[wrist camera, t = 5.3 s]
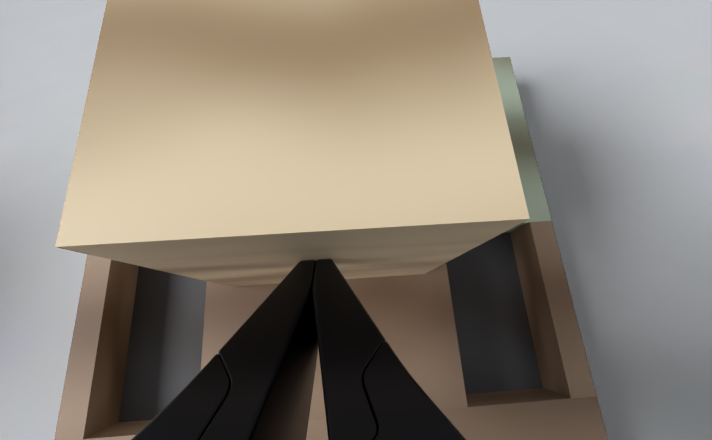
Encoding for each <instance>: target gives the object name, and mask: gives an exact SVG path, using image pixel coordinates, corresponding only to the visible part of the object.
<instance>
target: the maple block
mask: <svg viewBox="0 0 712 440" xmlns="http://www.w3.org/2000/svg"><path fill="white" fill-rule="evenodd" d="M528 219H530V218H529V213H528V209H527V205H526V201H525V196H524V192H523V188H522V184H521V179H520V175H519V171H518V167H517V162H516V158H515V154H514V150H513V145H512V141H511V137H510V133H509V128H508V124H507V120H506V116H505V111H504V107H503V103H502V99H501V94H500V90H499V86H498V82H497V77H496V73H495V69H494V65H493V60H492V56H491V52H490V48H489V43H488V39H487V35H486V31H485V26H484V22H483V18H482V14H481V9H480V5H479V1H478V0H107V4H106V9H105V13H104V18H103V23H102V27H101V32H100V37H99V42H98V46H97V51H96V56H95V61H94V65H93V70H92V75H91V80H90V84H89V89H88V94H87V99H86V103H85V108H84V113H83V118H82V122H81V127H80V132H79V136H78V141H77V146H76V151H75V155H74V160H73V165H72V170H71V174H70V179H69V184H68V189H67V193H66V198H65V203H64V208H63V212H62V217H61V222H60V227H59V231H58V236H57V241H56V245H55V247H58V248H62V249H67V250H71V251H75V252H80V253H84V254H89V255H93V256H97V257H102V258H106V259H111V260H115V261H120V262H124V263H128V264H133V265H137V266H142V267H146V268H151V269H155V270H159V271H164V272H168V273H173V274H177V275H182V276H186V277H190V278H195V279H199V280H204V281H208V282H212V283H217V284H221V285H226V286H230V287H234V286H250V285H265V284H280V282H281V281H282V280H283V279H284V278H285V277H286V276H287V275H288V274H289V272H290V271H291V270H292V269H293V268H294V267H295V266H296V265H297V264H298V262H300V261H302V260H315V261H317V260H319V259H332V260H333V261H334V263H335V264H336V266H337V267H338V269H339V270H340V272H341V273H342V275H343V276H344V278H345V279H357V278H372V277H387V276H403V275H418V274H425V273H427V272H429V271H431V270H433V269H435V268H437V267H439V266H441V265H443V264H444V263H446V262H448V261H450V260H452V259H454V258H456V257H458V256H460V255H462V254H464V253H465V252H467V251H469V250H471V249H473V248H475V247H477V246H479V245H481V244H483V243H485V242H486V241H488V240H490V239H492V238H494V237H496V236H498V235H500V234H502V233H504V232H506V231H507V230H509V229H511V228H513V227H515V226H517V225H519V224H521V223H523V222H525V221H527V220H528Z"/></svg>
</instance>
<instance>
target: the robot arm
mask: <svg viewBox="0 0 712 440" xmlns="http://www.w3.org/2000/svg"><path fill="white" fill-rule="evenodd" d="M318 350H319V359H320V368H321V377H322V386H323V395H324V405H325V414H326V423H327V432H328V440H466V439H465V438H464V437H463V435H462V434H461V433H460V432H459V431H458V430H457V429H456V427H455V426H454V425H453V424H452V423H451V422H450V421H449V419H448V418H447V417H446V416H445V415H444V414H443V413H442V411H441V410H440V409H439V408H438V407H437V406H436V405H435V403H434V402H433V401H432V400H431V399H430V398H429V396H428V395H427V394H426V393H425V392H424V391H423V389H422V388H421V387H420V386H419V384H418V383H417V382H416V381H415V380H414V378H413V377H412V376H411V375H410V374H409V372H408V371H407V369H406V368H405V367H404V365H403V364H402V362H401V361H400V360H399V358H398V357H397V356H396V354H395V353H394V351H393V350H392V348H391V347H390V345H389V344H388V342H386V340H385V338H384V336H383V335H382V333H381V332H380V330H379V329H378V327H377V326H376V324H375V323H374V321H373V320H372V318H371V317H370V315H369V314H368V312H367V311H366V309H365V308H364V306H363V305H362V303H361V302H360V300H359V299H358V297H357V296H356V294H355V293H354V291H353V290H352V288H351V287H350V285H349V284H348V282H347V281H346V279H345V278H344V276H343V275H342V273H341V272H340V270H339V269H338V267H337V266H336V264H335V263H334V261H333V260H332V259H319V260H317V261H315V260H302V261H300V262H298V264H297V265H296V266H295V267H294V268H293V269H292V270H291V271H290V272H289V274H288V275H287V276H286V277H285V278H284V279H283V280H282V281H281V282H280V284H279V285H278V286H277V287H276V288H275V289H274V290H273V291H272V292H271V294H270V295H269V296H268V297H267V298H266V299H265V300H264V301H263V302H262V304H261V305H260V306H259V307H258V308H257V309H256V310H255V311H254V313H253V314H252V315H251V316H250V317H249V318H248V319H247V320H246V321H245V323H244V324H243V325H242V326H241V327H240V328H239V329H238V330H237V331H236V333H235V334H234V335H233V336H232V337H231V338H230V339H229V340H228V341H227V343H226V344H225V345H224V346H223V347H222V348H221V349H220V350H219V352H218V353H219V354H216V355H215V356H214V357H213V358H212V359H211V360H210V361H209V362H208V364H207V365H206V366H205V367H204V368H203V369H202V370H201V371H200V372H199V373H198V374H197V375H196V376H195V378H194V379H193V380H192V381H191V382H190V383H189V384H188V385H187V386H186V387H185V388H184V389H183V390H182V391H181V392H180V393H179V394H178V395H177V396H176V397H175V398H174V399H173V400H172V401H171V402H170V403H169V404H168V405H167V406H166V407H165V408H164V409H163V410H162V411H161V412H160V413H159V414H158V415H157V416H156V417H155V418H154V419H152V420H151V421H150V422H149V423H148V424H147V425H146V426H145V427H144V428H143V429H142V430H141V431H140V432H139V433H138V434H137V435H135V436H134V437H133V438H132V439H131V440H306V437H307V429H308V422H309V414H310V407H311V399H312V392H313V385H314V377H315V370H316V362H317V355H318Z"/></svg>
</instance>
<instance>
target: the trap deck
mask: <svg viewBox="0 0 712 440" xmlns="http://www.w3.org/2000/svg"><path fill="white" fill-rule="evenodd" d="M492 60H493V65H494V69H495V73H496V77H497V82H498V86H499V90H500V94H501V99H502V103H503V107H504V111H505V116H506V120H507V124H508V128H509V133H510V137H511V141H512V145H513V150H514V154H515V158H516V162H517V167H518V171H519V175H520V179H521V184H522V188H523V192H524V196H525V201H526V205H527V209H528V213H529V218H530V219H528V220H527V221H525V222H523V223H521V224H519V225H517V226H515V227H513V228H511V229H509V230H507V231H506V232H504V233H502V234H500V235H498V236H496V237H494V238H492V239H490V240H488V241H486V242H485V243H483V244H481V245H479V246H477V247H475V248H473V249H471V250H469V251H467V252H465V253H464V254H462V255H460V256H458V257H456V258H454V259H452V260H450V261H448V262H446V263H444V264H443V265H441V266H439V267H437V268H435V269H433V270H431V271H429V272H427V273H425V274H418V275H403V276H387V277H372V278H357V279H346V281H347V282H348V284H349V285H350V287H351V288H352V290H353V291H354V293H355V294H356V296H357V297H358V299H359V300H360V302H361V303H362V305H363V306H364V308H365V309H366V311H367V312H368V314H369V315H370V317H371V318H372V320H373V321H374V323H375V324H376V326H377V327H378V329H379V330H380V332H381V333H382V335H383V336H384V338H385V340H386V342H388V344H389V345H390V347H391V348H392V350H393V351H394V353H395V354H396V356H397V357H398V358H399V360H400V361H401V362H402V364H403V365H404V367H405V368H406V369H407V371H408V372H409V374H410V375H411V376H412V377H413V378H414V380H415V381H416V382H417V383H418V384H419V386H420V387H421V388H422V389H423V391H424V392H425V393H426V394H427V395H428V396H429V398H430V399H431V400H432V401H433V402H434V403H435V405H436V406H437V407H438V408H439V409H440V410H441V411H442V413H443V414H444V415H445V416H446V417H447V418H448V419H449V421H450V422H451V423H452V424H453V425H454V426H455V427H456V429H457V430H458V431H459V432H460V433H461V434H462V435H463V437H464V438H465V439H466V440H608V439H607V435H606V431H605V427H604V424H603V420H602V416H601V412H600V408H599V404H598V400H597V396H596V392H595V388H594V384H593V381H592V377H591V373H590V369H589V365H588V361H587V357H586V353H585V349H584V345H583V341H582V338H581V334H580V330H579V326H578V322H577V318H576V314H575V310H574V306H573V302H572V298H571V295H570V291H569V287H568V283H567V279H566V275H565V271H564V267H563V263H562V259H561V255H560V252H559V248H558V244H557V240H556V236H555V232H554V228H553V224H552V220H551V216H550V212H549V209H548V205H547V201H546V197H545V193H544V189H543V185H542V181H541V177H540V173H539V169H538V165H537V162H536V158H535V154H534V150H533V146H532V142H531V138H530V134H529V130H528V126H527V122H526V119H525V115H524V111H523V107H522V103H521V99H520V95H519V91H518V87H517V83H516V79H515V76H514V72H513V68H512V64H511V60H510V57H503V58H492ZM278 285H279V284H265V285H250V286H234V287H230V286H226V285H221V284H217V283H212V282H208V281H204V280H199V279H195V278H190V277H186V276H182V275H177V274H173V273H168V272H164V271H159V270H155V269H151V268H146V267H142V266H137V265H133V264H128V263H124V262H120V261H115V260H111V259H106V258H102V257H97V256H93V255H89V254H87V260H86V265H85V271H84V277H83V282H82V288H81V293H80V299H79V305H78V310H77V316H76V321H75V327H74V333H73V338H72V344H71V350H70V355H69V361H68V366H67V372H66V378H65V383H64V389H63V394H62V400H61V406H60V411H59V417H58V422H57V428H56V434H55V439H54V440H131V439H132V438H133V437H134V436H135V435H137V434H138V433H139V432H140V431H141V430H142V429H143V428H144V427H145V426H146V425H147V424H148V423H149V422H150V421H151V420H152V419H154V418H155V417H156V416H157V415H158V414H159V413H160V412H161V411H162V410H163V409H164V408H165V407H166V406H167V405H168V404H169V403H170V402H171V401H172V400H173V399H174V398H175V397H176V396H177V395H178V394H179V393H180V392H181V391H182V390H183V389H184V388H185V387H186V386H187V385H188V384H189V383H190V382H191V381H192V380H193V379H194V378H195V376H196V375H197V374H198V373H199V372H200V371H201V370H202V369H203V368H204V367H205V366H206V365H207V364H208V362H209V361H210V360H211V359H212V358H213V357H214V356H215V355H216V354H219V353H218V352H219V350H220V349H221V348H222V347H223V346H224V345H225V344H226V343H227V341H228V340H229V339H230V338H231V337H232V336H233V335H234V334H235V333H236V331H237V330H238V329H239V328H240V327H241V326H242V325H243V324H244V323H245V321H246V320H247V319H248V318H249V317H250V316H251V315H252V314H253V313H254V311H255V310H256V309H257V308H258V307H259V306H260V305H261V304H262V302H263V301H264V300H265V299H266V298H267V297H268V296H269V295H270V294H271V292H272V291H273V290H274V289H275V288H276V287H277V286H278ZM306 440H328V432H327V423H326V414H325V405H324V395H323V386H322V377H321V368H320V359H319V350H318V355H317V362H316V370H315V377H314V385H313V392H312V399H311V407H310V414H309V422H308V429H307V437H306Z"/></svg>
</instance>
